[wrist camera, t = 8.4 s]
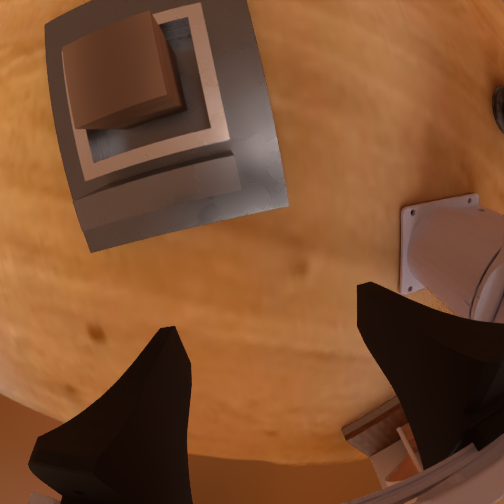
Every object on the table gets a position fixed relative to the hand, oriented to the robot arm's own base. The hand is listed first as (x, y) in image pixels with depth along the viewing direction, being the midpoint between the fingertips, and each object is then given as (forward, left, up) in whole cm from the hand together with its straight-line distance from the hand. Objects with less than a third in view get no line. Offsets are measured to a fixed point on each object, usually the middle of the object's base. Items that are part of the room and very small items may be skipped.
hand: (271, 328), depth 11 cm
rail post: (+4, -11, -9) cm, 15 cm away
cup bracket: (+4, -11, -10) cm, 16 cm away
